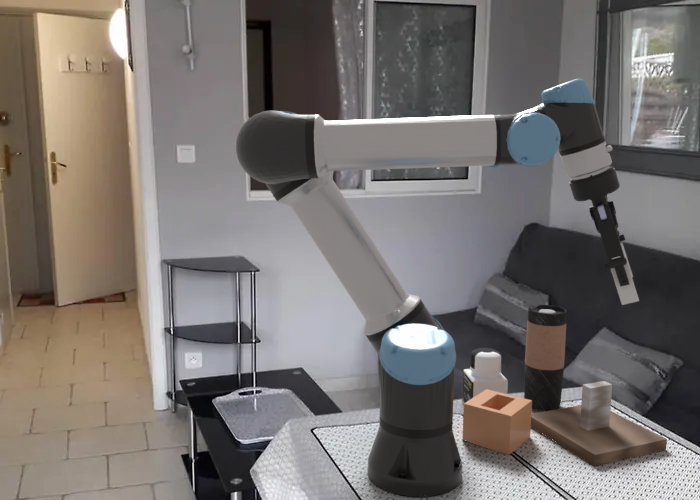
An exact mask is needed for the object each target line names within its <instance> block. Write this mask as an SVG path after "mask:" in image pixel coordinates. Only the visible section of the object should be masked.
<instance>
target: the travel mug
mask: <svg viewBox="0 0 700 500" xmlns="http://www.w3.org/2000/svg"><path fill="white" fill-rule="evenodd" d="M567 317H568V311H567V309H566V308H564V307H561V306H557V305H549V304H538V305H537V306H536V307H533V308H531V307H530V306H529V307H528V309H527V321H526V322H527V323H526V336H525V337H526V338H525V353H524V354H525V355H524V356H525V357H524V383H523V386H524V388H523V389H524V390H523V398H524V399H528V400H532V410H534V411H539V412H545V411H551V410H556V409H561V401H562V393H563V392H562V391H563V383H564V374H565V373H564V371H565V355H566V338H567V337H566V336H567V332H566V331H567Z"/></svg>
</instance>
